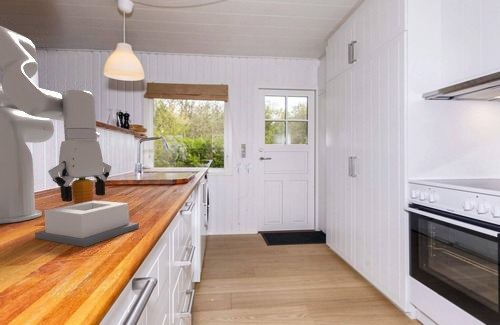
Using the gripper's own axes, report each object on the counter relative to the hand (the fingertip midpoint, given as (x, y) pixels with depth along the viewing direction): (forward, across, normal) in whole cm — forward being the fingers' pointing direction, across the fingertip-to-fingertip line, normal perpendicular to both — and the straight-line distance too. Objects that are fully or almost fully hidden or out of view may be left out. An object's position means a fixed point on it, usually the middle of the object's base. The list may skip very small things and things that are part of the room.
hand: (84, 198), depth 75 cm
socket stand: (+6, +8, +12) cm, 16 cm away
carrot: (+6, 0, -1) cm, 6 cm away
